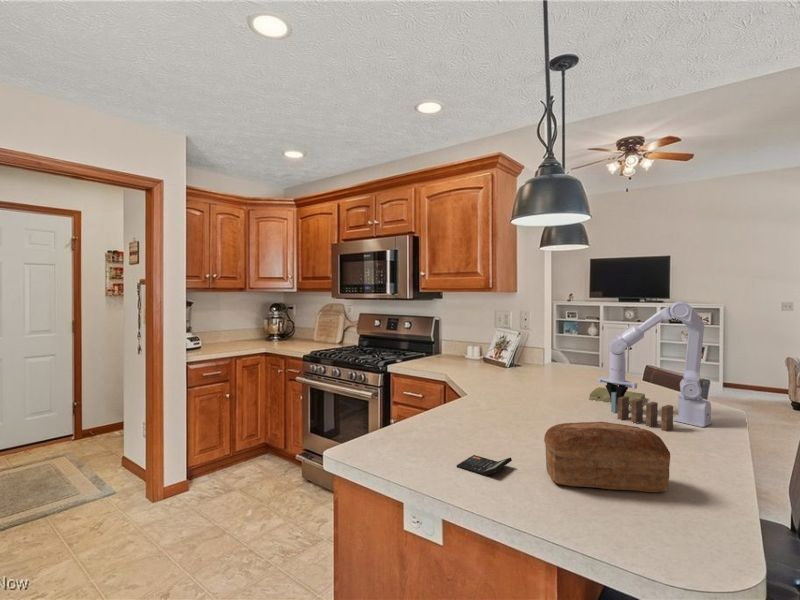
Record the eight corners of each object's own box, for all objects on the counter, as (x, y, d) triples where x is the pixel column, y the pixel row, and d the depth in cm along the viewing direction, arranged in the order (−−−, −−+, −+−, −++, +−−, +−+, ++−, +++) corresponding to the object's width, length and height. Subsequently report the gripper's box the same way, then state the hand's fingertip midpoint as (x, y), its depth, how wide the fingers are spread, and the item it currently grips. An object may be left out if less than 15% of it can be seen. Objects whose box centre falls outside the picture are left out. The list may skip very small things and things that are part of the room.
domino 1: (621, 411, 165) (622, 391, 165) (615, 413, 162) (615, 393, 162) (617, 410, 166) (618, 390, 166) (611, 412, 163) (611, 392, 163)
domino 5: (672, 428, 144) (673, 405, 143) (666, 431, 141) (666, 408, 141) (667, 427, 145) (668, 404, 145) (661, 430, 142) (661, 406, 142)
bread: (540, 468, 111) (541, 415, 111) (654, 476, 107) (654, 420, 106) (549, 489, 99) (549, 429, 99) (677, 499, 95) (678, 436, 94)
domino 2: (628, 418, 156) (628, 396, 156) (621, 420, 153) (622, 398, 153) (624, 417, 157) (624, 396, 157) (617, 419, 154) (617, 397, 154)
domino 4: (657, 424, 148) (657, 402, 148) (650, 427, 145) (651, 404, 145) (652, 423, 149) (652, 401, 149) (645, 426, 146) (646, 403, 146)
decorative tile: (596, 393, 197) (596, 385, 197) (645, 400, 184) (645, 392, 184) (586, 401, 182) (586, 393, 182) (639, 409, 170) (639, 400, 170)
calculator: (473, 457, 119) (473, 447, 119) (512, 468, 111) (512, 457, 111) (456, 468, 112) (456, 457, 111) (496, 480, 104) (496, 469, 104)
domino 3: (642, 421, 152) (642, 399, 152) (635, 423, 149) (636, 401, 149) (638, 420, 153) (638, 398, 153) (631, 422, 150) (631, 400, 150)
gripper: (641, 371, 160) (640, 405, 160) (604, 365, 172) (604, 397, 172) (632, 372, 156) (631, 408, 156) (595, 367, 168) (594, 400, 168)
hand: (616, 403), depth 164 cm, fingers closed on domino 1, 2 cm apart
